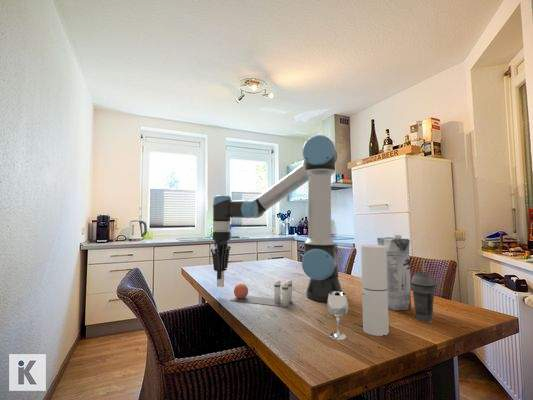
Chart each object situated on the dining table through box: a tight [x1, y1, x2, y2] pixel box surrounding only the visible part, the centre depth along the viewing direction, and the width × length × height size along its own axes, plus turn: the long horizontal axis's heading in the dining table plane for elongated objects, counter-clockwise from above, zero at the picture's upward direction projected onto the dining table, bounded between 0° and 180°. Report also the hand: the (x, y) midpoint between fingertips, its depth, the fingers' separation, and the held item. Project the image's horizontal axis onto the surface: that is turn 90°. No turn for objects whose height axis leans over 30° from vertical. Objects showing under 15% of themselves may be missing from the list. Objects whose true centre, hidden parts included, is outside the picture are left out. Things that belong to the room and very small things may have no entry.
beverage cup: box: [410, 258, 437, 323], centre depth 92 cm, size 7×7×20 cm
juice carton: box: [376, 234, 412, 312], centre depth 105 cm, size 9×10×27 cm
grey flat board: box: [230, 295, 292, 308], centre depth 112 cm, size 24×8×1 cm, turn 69°
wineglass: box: [326, 291, 349, 341], centre depth 79 cm, size 6×6×12 cm
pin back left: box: [281, 282, 289, 308], centre depth 106 cm, size 2×2×8 cm
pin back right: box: [285, 279, 293, 304], centre depth 111 cm, size 2×2×8 cm
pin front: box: [273, 279, 282, 303], centre depth 110 cm, size 2×2×8 cm
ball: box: [233, 283, 249, 299], centre depth 115 cm, size 6×6×6 cm
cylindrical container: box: [360, 244, 390, 337], centre depth 83 cm, size 7×7×25 cm
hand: (220, 286), depth 119 cm, fingers closed
